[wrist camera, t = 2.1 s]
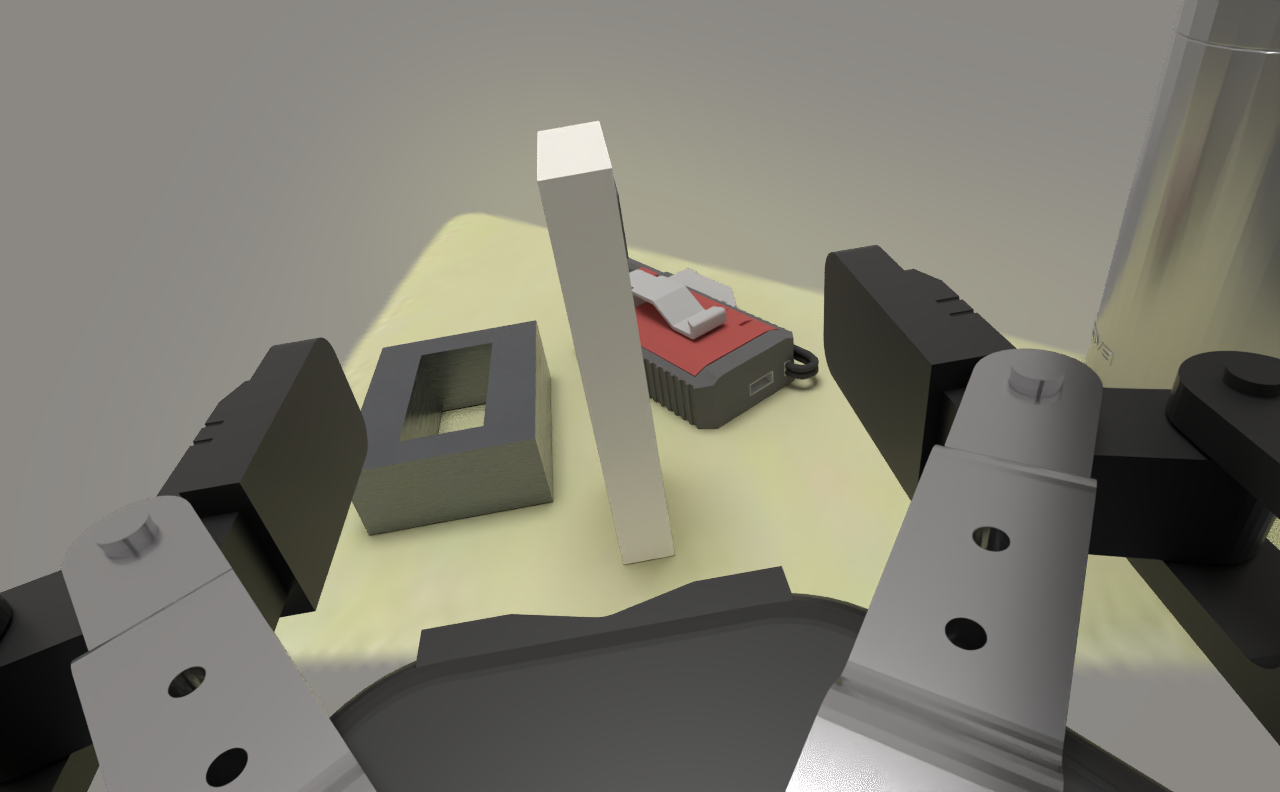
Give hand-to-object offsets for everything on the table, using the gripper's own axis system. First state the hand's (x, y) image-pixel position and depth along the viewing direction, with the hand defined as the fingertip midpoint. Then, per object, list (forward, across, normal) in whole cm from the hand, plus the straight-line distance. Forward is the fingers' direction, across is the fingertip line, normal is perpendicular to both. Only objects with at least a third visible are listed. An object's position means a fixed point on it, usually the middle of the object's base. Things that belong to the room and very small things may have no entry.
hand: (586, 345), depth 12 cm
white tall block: (+12, 0, +15) cm, 19 cm away
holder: (+18, +7, +15) cm, 25 cm away
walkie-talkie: (+26, -3, +15) cm, 30 cm away
